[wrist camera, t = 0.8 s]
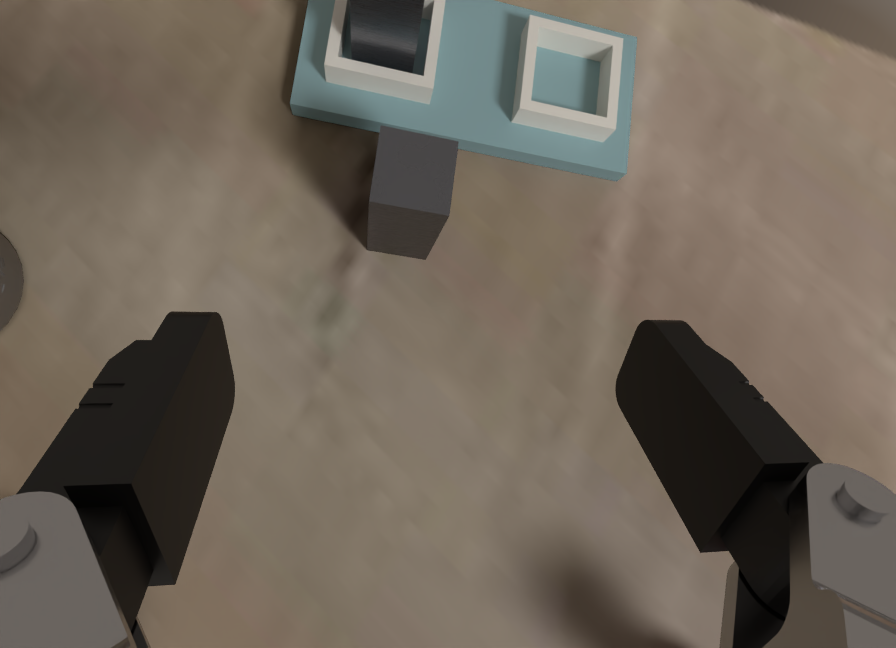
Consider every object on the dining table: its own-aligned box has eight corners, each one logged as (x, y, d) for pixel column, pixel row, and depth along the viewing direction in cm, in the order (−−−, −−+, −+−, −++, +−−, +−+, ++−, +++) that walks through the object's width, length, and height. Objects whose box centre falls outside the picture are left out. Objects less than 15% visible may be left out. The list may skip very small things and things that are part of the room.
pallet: (292, 114, 36) (285, 86, 33) (318, -29, 38) (314, -70, 34) (616, 181, 40) (640, 162, 37) (627, 49, 42) (651, 19, 38)
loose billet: (366, 249, 36) (369, 201, 26) (375, 190, 37) (381, 120, 27) (425, 259, 37) (449, 215, 27) (433, 200, 37) (459, 137, 28)
